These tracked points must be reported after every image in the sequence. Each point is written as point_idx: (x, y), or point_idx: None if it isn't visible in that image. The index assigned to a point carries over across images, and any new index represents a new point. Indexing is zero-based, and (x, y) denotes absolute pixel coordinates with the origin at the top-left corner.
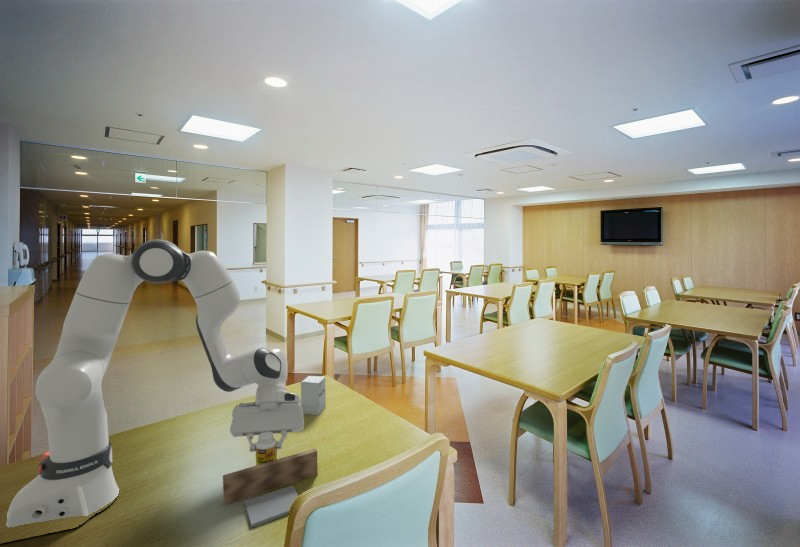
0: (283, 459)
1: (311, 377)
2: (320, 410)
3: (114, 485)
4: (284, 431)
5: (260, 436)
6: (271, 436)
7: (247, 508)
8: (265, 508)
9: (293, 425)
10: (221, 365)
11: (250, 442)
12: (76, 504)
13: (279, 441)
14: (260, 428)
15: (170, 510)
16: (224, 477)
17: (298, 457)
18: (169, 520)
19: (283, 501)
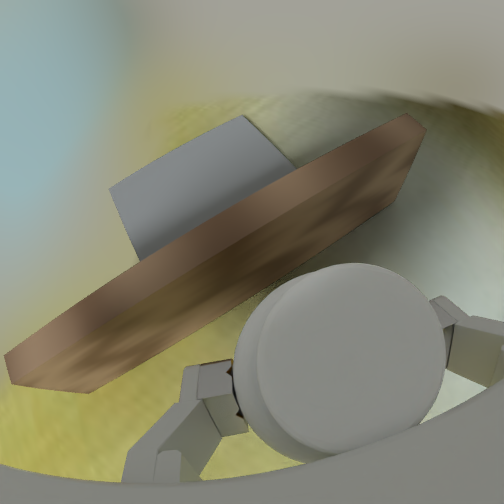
0: (155, 267)
1: None
2: None
3: None
4: (143, 477)
5: (409, 305)
6: (262, 329)
7: (284, 158)
8: (222, 163)
9: (21, 488)
10: None
11: (473, 319)
12: None
13: (201, 395)
14: (484, 413)
15: (495, 172)
16: (408, 118)
17: (79, 305)
18: (467, 142)
19: (169, 196)
